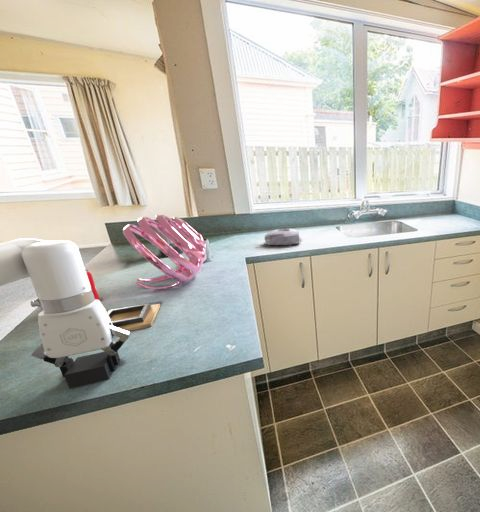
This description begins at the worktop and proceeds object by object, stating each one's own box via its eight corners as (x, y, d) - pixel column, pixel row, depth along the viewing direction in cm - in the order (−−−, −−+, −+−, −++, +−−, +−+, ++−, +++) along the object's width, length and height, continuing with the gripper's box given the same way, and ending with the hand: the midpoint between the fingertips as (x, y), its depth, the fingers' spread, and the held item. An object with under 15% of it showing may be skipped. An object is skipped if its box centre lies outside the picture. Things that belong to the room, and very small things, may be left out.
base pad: (87, 338, 79) (84, 330, 79) (105, 315, 91) (103, 308, 91) (151, 326, 86) (149, 319, 85) (160, 306, 97) (158, 299, 97)
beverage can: (98, 300, 101) (87, 267, 97) (103, 305, 97) (92, 271, 94) (72, 307, 96) (60, 273, 92) (77, 313, 93) (64, 277, 89)
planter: (210, 261, 140) (206, 240, 136) (199, 262, 138) (195, 241, 135) (212, 258, 144) (209, 238, 141) (202, 259, 142) (198, 239, 139)
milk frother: (168, 258, 144) (162, 228, 140) (146, 254, 149) (139, 225, 144) (195, 250, 157) (189, 222, 153) (173, 247, 162) (167, 220, 157)
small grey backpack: (300, 238, 182) (265, 241, 176) (299, 225, 179) (264, 227, 173) (301, 245, 168) (263, 247, 162) (300, 231, 165) (261, 233, 160)
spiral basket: (73, 249, 90) (154, 195, 98) (112, 247, 116) (173, 204, 123) (150, 311, 99) (218, 257, 107) (170, 297, 125) (224, 254, 132)
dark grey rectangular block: (69, 388, 62) (63, 375, 61) (81, 370, 68) (77, 357, 67) (109, 379, 65) (104, 366, 64) (118, 362, 71) (114, 349, 70)
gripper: (-5, 318, 54) (30, 397, 59) (117, 299, 61) (138, 371, 67) (19, 301, 60) (49, 374, 66) (127, 286, 68) (146, 352, 73)
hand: (94, 372), depth 66 cm, fingers closed on dark grey rectangular block, 6 cm apart
